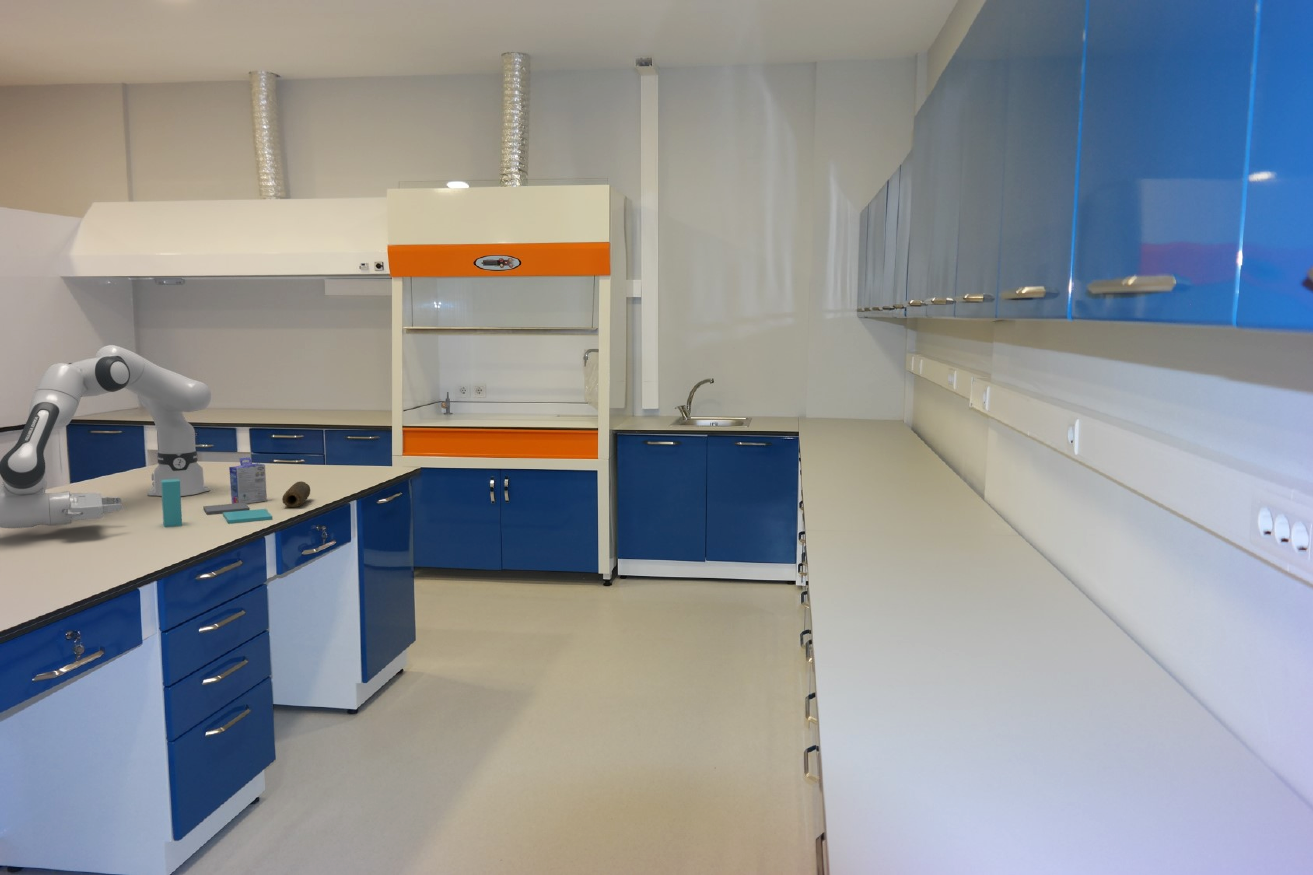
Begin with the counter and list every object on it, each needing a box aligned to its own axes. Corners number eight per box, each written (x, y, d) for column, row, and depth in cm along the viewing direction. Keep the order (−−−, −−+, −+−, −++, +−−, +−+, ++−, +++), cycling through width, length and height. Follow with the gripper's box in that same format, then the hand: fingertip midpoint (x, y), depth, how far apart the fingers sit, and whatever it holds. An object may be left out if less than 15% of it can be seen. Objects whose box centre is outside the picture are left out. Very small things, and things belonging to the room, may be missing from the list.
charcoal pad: (203, 509, 283) (203, 506, 282) (245, 505, 289) (244, 502, 289) (206, 514, 275) (206, 511, 275) (249, 511, 281) (249, 507, 281)
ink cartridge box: (259, 498, 300) (257, 455, 298) (268, 501, 297) (266, 457, 295) (229, 503, 292) (228, 459, 291) (238, 505, 289) (236, 461, 287)
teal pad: (222, 515, 274) (222, 512, 274) (265, 511, 281) (265, 508, 281) (228, 523, 264) (228, 520, 264) (272, 519, 271) (272, 516, 271)
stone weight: (289, 500, 299) (288, 480, 299) (311, 499, 301) (310, 479, 300) (281, 509, 285) (280, 488, 284) (305, 508, 287) (304, 488, 286)
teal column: (163, 523, 262) (160, 479, 261) (180, 522, 265) (178, 478, 263) (164, 527, 259) (162, 482, 257) (182, 525, 261) (179, 481, 259)
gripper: (61, 503, 238) (122, 499, 245) (62, 490, 255) (119, 486, 262) (63, 527, 239) (123, 521, 246) (64, 512, 256) (120, 507, 263)
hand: (121, 503), depth 254 cm, fingers open, 8 cm apart
